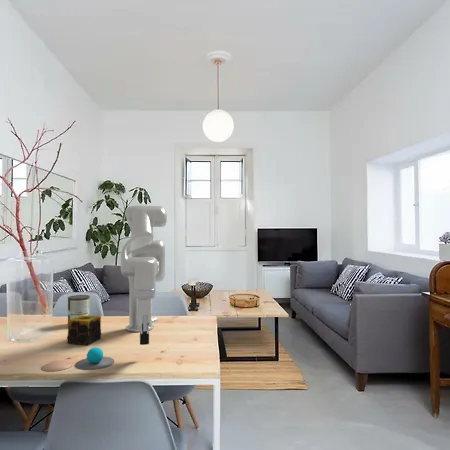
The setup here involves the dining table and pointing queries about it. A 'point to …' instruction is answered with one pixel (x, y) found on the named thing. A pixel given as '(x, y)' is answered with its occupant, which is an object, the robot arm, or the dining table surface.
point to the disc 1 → (57, 366)
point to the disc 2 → (86, 365)
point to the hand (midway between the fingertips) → (144, 343)
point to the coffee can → (78, 306)
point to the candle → (84, 330)
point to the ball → (94, 355)
